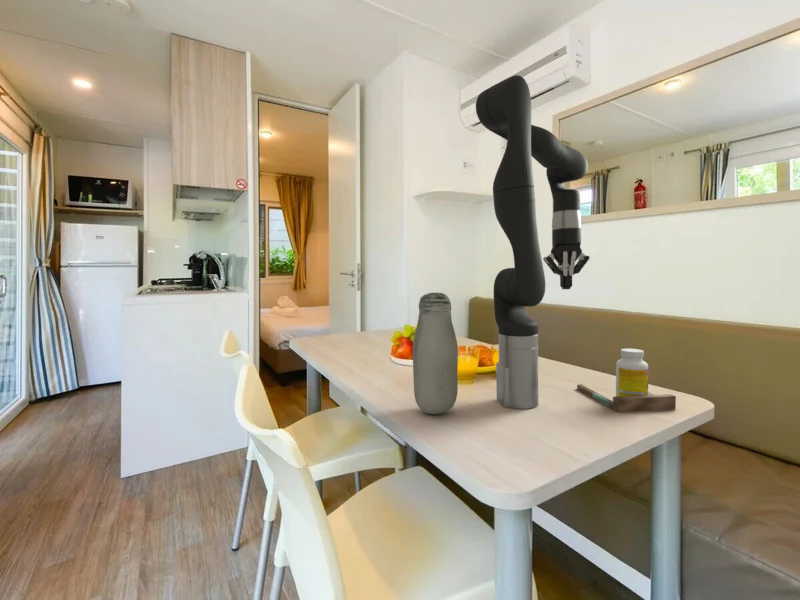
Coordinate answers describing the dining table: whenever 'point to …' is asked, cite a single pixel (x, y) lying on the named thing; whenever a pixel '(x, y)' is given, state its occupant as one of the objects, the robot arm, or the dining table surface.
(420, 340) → the grey bottle
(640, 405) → the frame
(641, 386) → the supplement bottle
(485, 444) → the dining table surface
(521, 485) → the dining table surface
